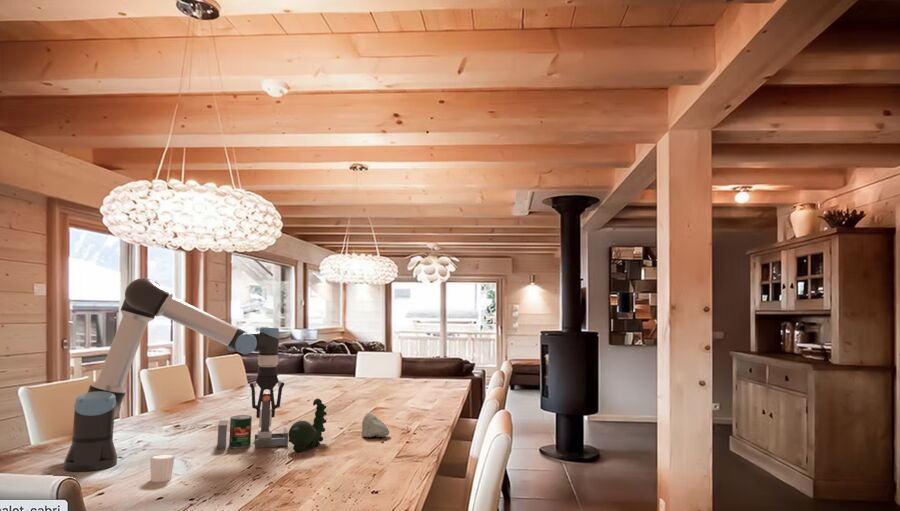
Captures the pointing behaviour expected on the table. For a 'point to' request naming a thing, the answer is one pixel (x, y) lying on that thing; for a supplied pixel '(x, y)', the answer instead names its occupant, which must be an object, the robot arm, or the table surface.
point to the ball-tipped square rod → (265, 418)
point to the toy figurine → (308, 430)
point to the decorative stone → (373, 427)
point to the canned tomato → (240, 431)
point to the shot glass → (161, 467)
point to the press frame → (275, 441)
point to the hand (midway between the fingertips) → (265, 426)
